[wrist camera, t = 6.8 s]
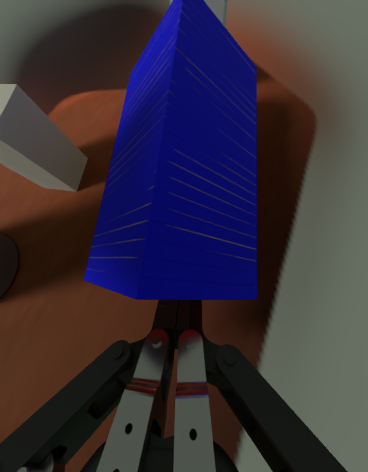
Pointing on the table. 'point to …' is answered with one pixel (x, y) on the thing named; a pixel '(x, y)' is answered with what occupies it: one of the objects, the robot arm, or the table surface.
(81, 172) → the cream block
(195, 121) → the house
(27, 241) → the table surface
